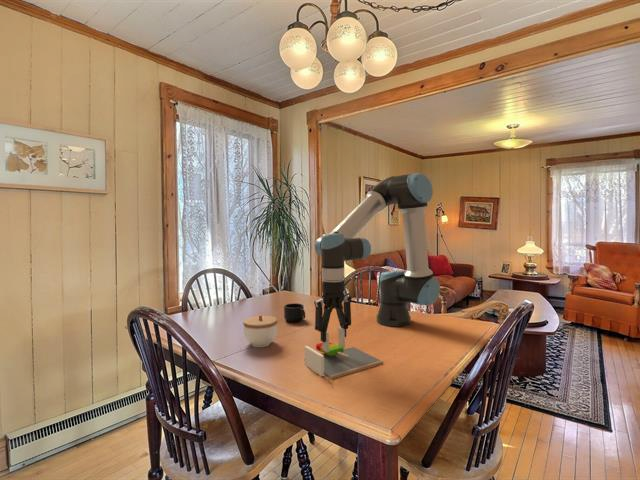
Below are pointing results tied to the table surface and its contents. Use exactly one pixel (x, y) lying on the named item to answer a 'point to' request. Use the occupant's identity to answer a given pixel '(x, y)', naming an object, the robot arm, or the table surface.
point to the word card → (314, 360)
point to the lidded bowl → (260, 330)
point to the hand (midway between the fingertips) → (333, 348)
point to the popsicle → (331, 349)
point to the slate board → (348, 362)
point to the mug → (294, 312)
